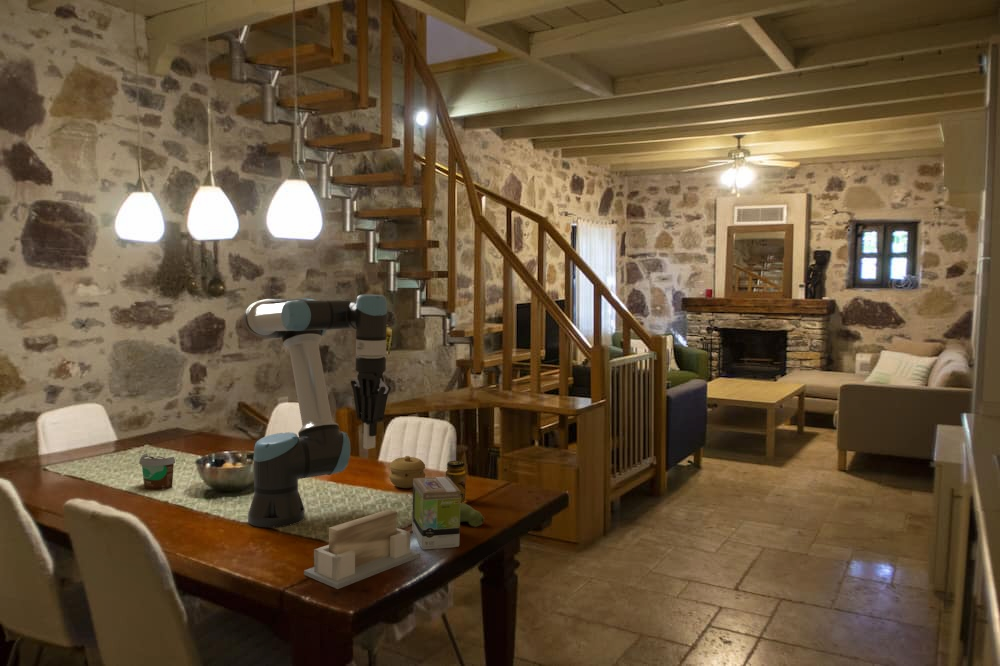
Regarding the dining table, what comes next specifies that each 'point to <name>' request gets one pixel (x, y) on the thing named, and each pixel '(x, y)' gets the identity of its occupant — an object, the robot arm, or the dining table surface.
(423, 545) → the tea box
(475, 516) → the pear
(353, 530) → the slat
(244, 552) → the dining table surface
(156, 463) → the food container
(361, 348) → the robot arm
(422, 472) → the pot
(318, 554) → the frame
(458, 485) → the condiment
